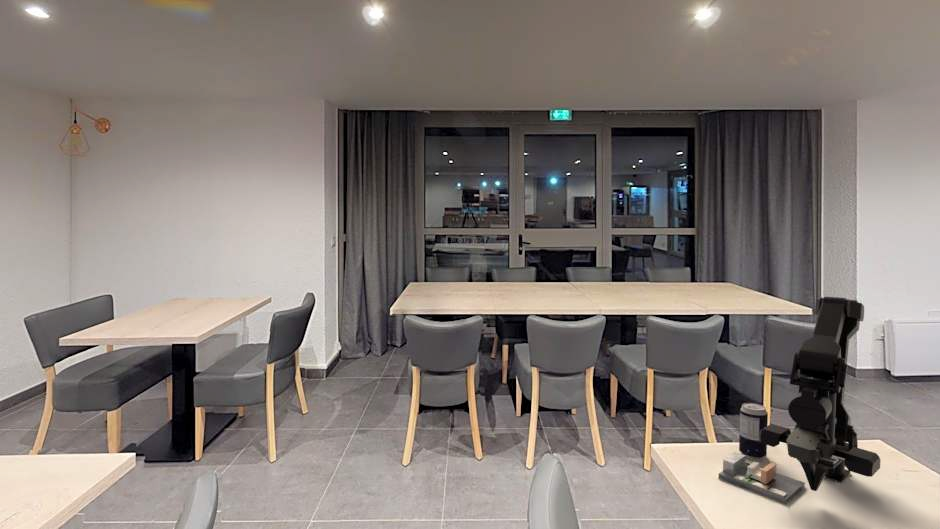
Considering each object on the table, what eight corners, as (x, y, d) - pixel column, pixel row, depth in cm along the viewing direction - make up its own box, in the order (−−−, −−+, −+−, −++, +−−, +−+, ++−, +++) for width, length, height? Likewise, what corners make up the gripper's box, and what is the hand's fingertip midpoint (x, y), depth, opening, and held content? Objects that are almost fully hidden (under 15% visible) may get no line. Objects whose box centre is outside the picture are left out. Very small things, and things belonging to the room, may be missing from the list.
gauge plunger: (755, 469, 106) (755, 457, 106) (775, 476, 103) (776, 464, 103) (741, 479, 102) (741, 467, 102) (762, 487, 99) (762, 474, 99)
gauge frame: (739, 464, 111) (739, 449, 111) (804, 487, 101) (805, 471, 101) (718, 478, 105) (718, 462, 105) (785, 504, 95) (786, 487, 95)
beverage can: (770, 462, 112) (771, 411, 112) (743, 459, 114) (745, 410, 113) (761, 451, 118) (762, 402, 117) (735, 449, 119) (736, 401, 118)
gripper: (747, 408, 97) (745, 483, 98) (863, 439, 82) (860, 528, 83) (771, 396, 104) (769, 467, 105) (882, 423, 89) (879, 505, 90)
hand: (814, 490), depth 95 cm, fingers closed
